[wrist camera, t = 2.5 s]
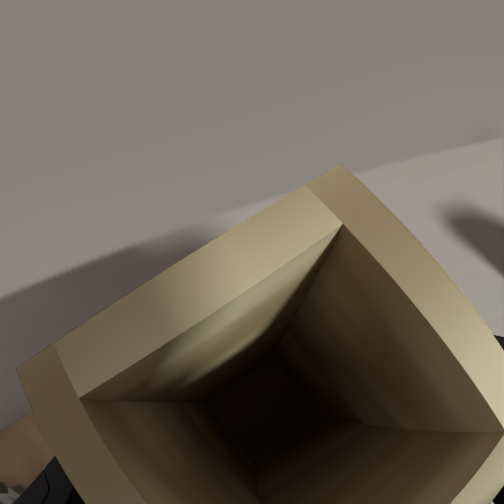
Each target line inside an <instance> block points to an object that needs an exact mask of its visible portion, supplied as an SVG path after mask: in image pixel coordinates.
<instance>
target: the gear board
mask: <svg viewBox="0 0 504 504" xmlns="http://www.w3.org/2000/svg"><path fill="white" fill-rule="evenodd" d="M206 403H207V404H208V405H209V407H210V408H211V409H212V411H213V412H214V413H215V415H216V416H217V417H218V419H219V420H220V421H221V423H222V424H223V425H224V427H225V428H226V429H227V431H228V432H229V433H230V434H231V436H232V437H233V438H234V440H235V441H236V442H237V443H238V445H239V446H240V447H241V448H242V449H243V451H244V452H245V453H246V454H247V456H248V457H249V458H250V459H251V460H252V462H253V463H257V462H258V461H260V460H261V459H263V458H264V457H266V456H267V455H269V454H270V453H272V452H273V451H275V450H276V449H277V448H279V447H280V446H282V445H283V444H285V443H286V442H287V441H289V440H290V439H292V438H293V437H294V436H296V435H297V434H298V433H300V432H301V431H302V430H304V429H305V428H306V427H308V426H309V425H310V424H312V423H313V422H314V421H315V420H317V419H318V418H319V416H320V415H319V414H318V413H317V412H316V411H315V409H314V408H313V407H312V406H311V404H310V403H309V402H308V401H307V400H306V398H305V397H304V396H303V395H302V393H301V392H300V391H299V390H298V388H297V387H296V386H295V385H294V383H293V382H292V381H291V380H290V378H289V377H288V376H287V375H286V373H285V372H284V371H283V370H282V368H281V367H280V366H279V364H278V363H277V362H276V361H275V359H274V358H273V357H270V358H268V359H267V360H266V361H264V362H263V363H261V364H260V365H259V366H257V367H256V368H254V369H253V370H252V371H250V372H249V373H247V374H246V375H244V376H243V377H242V378H240V379H239V380H237V381H236V382H234V383H233V384H231V385H230V386H228V387H227V388H225V389H224V390H222V391H221V392H219V393H218V394H216V395H215V396H213V397H212V398H210V399H208V400H207V402H206ZM54 456H55V454H54V452H53V450H52V449H51V447H50V445H49V443H48V441H47V439H46V437H45V435H44V433H43V431H42V429H41V427H40V425H39V423H38V421H37V419H36V416H35V414H34V412H31V413H30V414H28V415H26V416H25V417H23V418H21V419H20V420H18V421H16V422H15V423H13V424H11V425H10V426H8V427H6V428H5V429H3V430H1V431H0V482H2V481H3V483H4V485H5V487H6V489H7V491H8V487H12V486H17V485H19V486H21V487H22V488H24V489H27V488H28V486H29V485H30V484H31V483H32V482H33V481H34V480H35V478H36V477H37V476H38V475H39V474H40V473H41V471H42V470H45V469H44V468H45V467H46V465H47V464H48V463H49V462H50V461H51V460H52V458H53V457H54Z"/></svg>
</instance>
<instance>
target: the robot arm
mask: <svg viewBox="0 0 504 504" xmlns="http://www.w3.org/2000/svg"><path fill="white" fill-rule="evenodd" d="M494 337H495V338H496V340H497V341H498V343H499V344H500V346H501V347H502V349H503V350H504V337H501V336H496V335H494ZM44 469H45V470H42V471H41V473H40V474H39V475H38V476H37V477H36V478H35V480H34V481H33V482H32V483H31V484H30V485H29V486H28V488H27V489H26V490H25V491H24V492H23V493H22V494H21V495H20V496H19V497H18V498H17V499H16V500H15V501H14V502H13V503H12V504H85V502H84V501H83V499H82V498H81V496H80V495H79V493H78V492H77V490H76V489H75V487H74V486H73V484H72V483H71V481H70V480H69V478H68V476H67V475H66V473H65V471H64V470H63V468H62V466H61V465H60V463H59V461H58V459H57V458H56V456H54V457H53V458H52V460H51V461H50V462H49V463H48V464H47V465H46V467H45V468H44ZM492 501H493V502H494V504H504V486H503V487H502V488H501V490H500V491H499V492H498V494H497V495H496V496H495V498H494V499H493V500H492Z"/></svg>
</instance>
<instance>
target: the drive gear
mask: <svg viewBox="0 0 504 504" xmlns="http://www.w3.org/2000/svg"><path fill="white" fill-rule="evenodd" d="M25 490H26V489H24V488H22V487H21V486H19V485H17V486H12V487H8V491H7V489H6V487H5V485H4V483H3V481H2V482H0V504H12V503H13V502H14V501H15V500H16V499H17V498H18V497H19V496H20V495H21V494H22V493H23V492H24V491H25Z"/></svg>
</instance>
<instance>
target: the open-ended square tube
mask: <svg viewBox="0 0 504 504" xmlns="http://www.w3.org/2000/svg"><path fill="white" fill-rule="evenodd" d="M270 357H273V358H274V359H275V361H276V362H277V363H278V364H279V366H280V367H281V368H282V370H283V371H284V372H285V373H286V375H287V376H288V377H289V378H290V380H291V381H292V382H293V383H294V385H295V386H296V387H297V388H298V390H299V391H300V392H301V393H302V395H303V396H304V397H305V398H306V400H307V401H308V402H309V403H310V404H311V406H312V407H313V408H314V409H315V411H316V412H317V413H318V414H319V415H320V416H319V418H318V419H317V420H315V421H314V422H313V423H312V424H310V425H309V426H308V427H306V428H305V429H304V430H302V431H301V432H300V433H298V434H297V435H296V436H294V437H293V438H292V439H290V440H289V441H287V442H286V443H285V444H283V445H282V446H280V447H279V448H277V449H276V450H275V451H273V452H272V453H270V454H269V455H267V456H266V457H264V458H263V459H261V460H260V461H258V462H257V463H253V462H252V460H251V459H250V458H249V457H248V456H247V454H246V453H245V452H244V451H243V449H242V448H241V447H240V446H239V445H238V443H237V442H236V441H235V440H234V438H233V437H232V436H231V434H230V433H229V432H228V431H227V429H226V428H225V427H224V425H223V424H222V423H221V421H220V420H219V419H218V417H217V416H216V415H215V413H214V412H213V411H212V409H211V408H210V407H209V405H208V404H207V403H206V402H207V400H208V399H210V398H212V397H213V396H215V395H216V394H218V393H219V392H221V391H222V390H224V389H225V388H227V387H228V386H230V385H231V384H233V383H234V382H236V381H237V380H239V379H240V378H242V377H243V376H244V375H246V374H247V373H249V372H250V371H252V370H253V369H254V368H256V367H257V366H259V365H260V364H261V363H263V362H264V361H266V360H267V359H268V358H270ZM16 370H17V372H18V375H19V378H20V381H21V383H22V386H23V388H24V391H25V393H26V396H27V398H28V401H29V403H30V405H31V408H32V410H33V412H34V414H35V416H36V419H37V421H38V423H39V425H40V427H41V429H42V431H43V433H44V435H45V437H46V439H47V441H48V443H49V445H50V447H51V449H52V450H53V452H54V454H55V456H56V458H57V459H58V461H59V463H60V465H61V466H62V468H63V470H64V471H65V473H66V475H67V476H68V478H69V480H70V481H71V483H72V484H73V486H74V487H75V489H76V490H77V492H78V493H79V495H80V496H81V498H82V499H83V501H84V502H85V504H490V503H491V501H492V500H493V499H494V498H495V496H496V495H497V494H498V492H499V491H500V490H501V488H502V487H503V486H504V350H503V349H502V347H501V346H500V344H499V343H498V341H497V340H496V338H495V337H494V335H493V334H492V332H491V331H490V330H489V328H488V327H487V325H486V324H485V322H484V321H483V320H482V318H481V317H480V316H479V314H478V313H477V311H476V310H475V309H474V307H473V306H472V305H471V303H470V302H469V301H468V300H467V298H466V297H465V296H464V294H463V293H462V292H461V291H460V289H459V288H458V287H457V285H456V284H455V283H454V282H453V280H452V279H451V278H450V277H449V276H448V274H447V273H446V272H445V271H444V270H443V268H442V267H441V266H440V265H439V264H438V262H437V261H436V260H435V259H434V258H433V257H432V255H431V254H430V253H429V252H428V251H427V250H426V249H425V247H424V246H423V245H422V244H421V243H420V242H419V241H418V240H417V239H416V237H415V236H414V235H413V234H412V233H411V232H410V231H409V230H408V229H407V228H406V227H405V226H404V224H403V223H402V222H401V221H400V220H399V219H398V218H397V217H396V216H395V215H394V214H393V213H392V212H391V211H390V210H389V209H388V208H387V207H386V206H385V205H384V204H383V203H382V202H381V201H380V200H379V199H378V198H377V197H376V196H375V195H374V194H373V193H372V192H371V191H370V190H369V189H368V188H367V187H366V186H365V185H364V184H363V183H362V182H361V181H360V180H359V179H357V178H356V177H355V176H354V175H353V174H352V173H351V172H350V171H349V170H348V169H347V168H346V167H344V166H343V165H342V164H341V165H340V166H338V167H336V168H334V169H333V170H331V171H329V172H327V173H326V174H324V175H322V176H320V177H319V178H317V179H315V180H313V181H312V182H310V183H308V184H306V185H305V186H303V187H301V188H300V189H298V190H296V191H294V192H293V193H291V194H289V195H288V196H286V197H284V198H282V199H281V200H279V201H277V202H276V203H274V204H272V205H271V206H269V207H267V208H266V209H264V210H262V211H260V212H259V213H257V214H255V215H254V216H252V217H250V218H249V219H247V220H245V221H244V222H242V223H240V224H239V225H237V226H236V227H234V228H232V229H231V230H229V231H227V232H226V233H224V234H222V235H221V236H219V237H217V238H216V239H214V240H213V241H211V242H209V243H208V244H206V245H204V246H203V247H201V248H200V249H198V250H196V251H195V252H193V253H191V254H190V255H188V256H187V257H185V258H183V259H182V260H180V261H179V262H177V263H175V264H174V265H172V266H171V267H169V268H168V269H166V270H164V271H163V272H161V273H160V274H158V275H156V276H155V277H153V278H152V279H150V280H149V281H147V282H145V283H144V284H142V285H141V286H139V287H138V288H136V289H135V290H133V291H131V292H130V293H128V294H127V295H125V296H124V297H122V298H121V299H119V300H118V301H116V302H115V303H113V304H111V305H110V306H108V307H107V308H105V309H104V310H102V311H101V312H99V313H98V314H96V315H95V316H93V317H92V318H90V319H89V320H87V321H86V322H84V323H83V324H81V325H80V326H78V327H77V328H75V329H74V330H72V331H71V332H69V333H68V334H66V335H65V336H63V337H62V338H60V339H59V340H57V341H56V342H55V343H53V344H52V345H50V346H49V347H47V348H46V349H44V350H43V351H41V352H40V353H39V354H37V355H36V356H34V357H33V358H31V359H30V360H28V361H27V362H26V363H24V364H23V365H21V366H20V367H18V368H17V369H16Z"/></svg>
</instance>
